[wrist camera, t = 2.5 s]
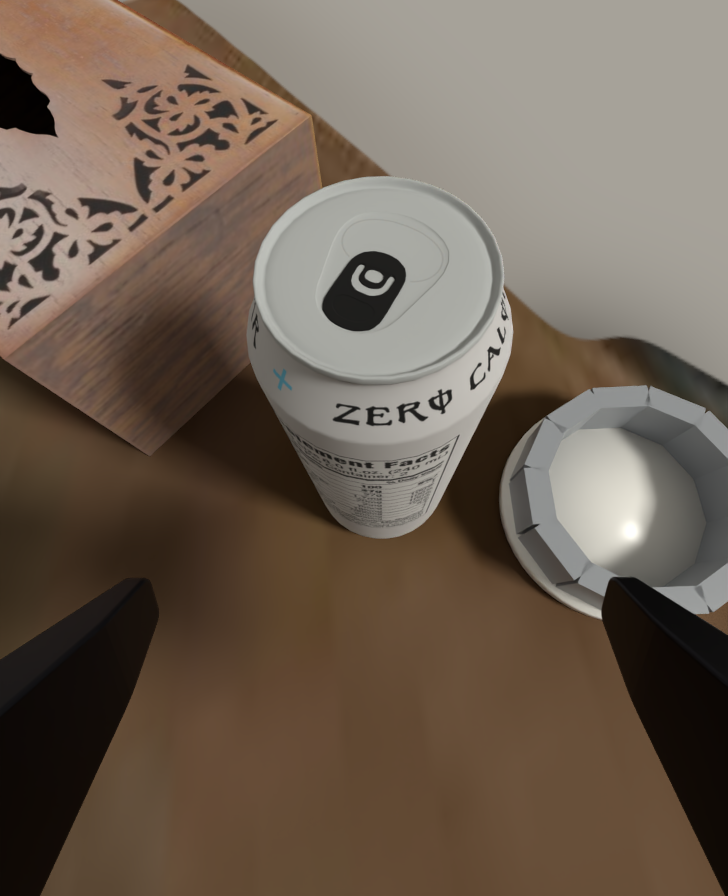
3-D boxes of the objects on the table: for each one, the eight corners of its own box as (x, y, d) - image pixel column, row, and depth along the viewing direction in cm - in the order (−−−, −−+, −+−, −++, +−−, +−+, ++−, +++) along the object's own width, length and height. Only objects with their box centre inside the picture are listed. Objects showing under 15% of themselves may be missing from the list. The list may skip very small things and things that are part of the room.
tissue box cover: (-88, 221, 31) (-297, 49, 21) (83, 105, 34) (-32, -89, 25) (152, 458, 24) (3, 359, 15) (336, 286, 27) (311, 115, 18)
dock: (599, 672, 19) (640, 684, 16) (456, 476, 23) (467, 454, 20) (773, 542, 21) (840, 530, 18) (616, 375, 24) (649, 340, 21)
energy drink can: (461, 457, 23) (584, 214, 9) (407, 564, 21) (454, 472, 7) (358, 407, 24) (321, 122, 10) (299, 505, 23) (157, 326, 8)
